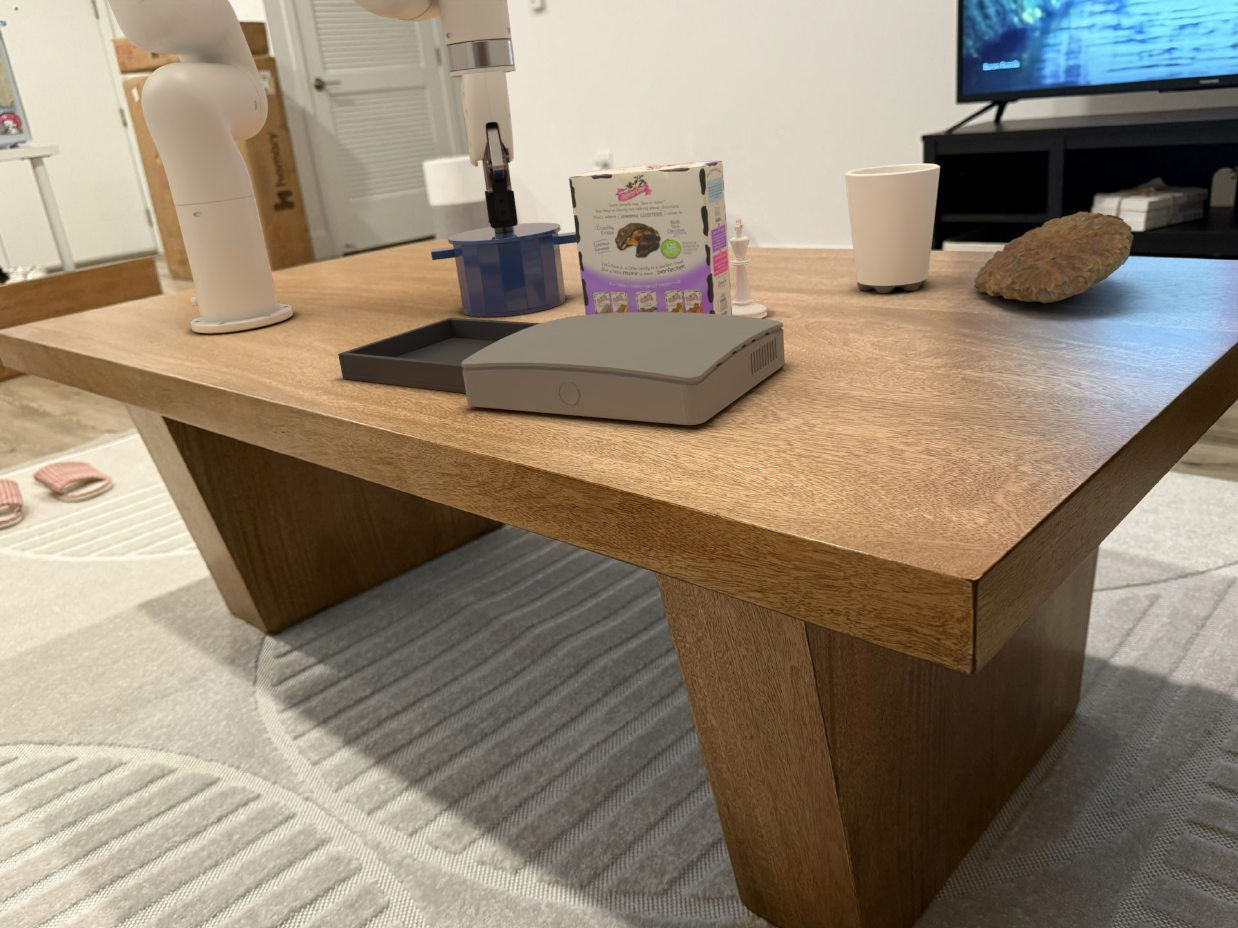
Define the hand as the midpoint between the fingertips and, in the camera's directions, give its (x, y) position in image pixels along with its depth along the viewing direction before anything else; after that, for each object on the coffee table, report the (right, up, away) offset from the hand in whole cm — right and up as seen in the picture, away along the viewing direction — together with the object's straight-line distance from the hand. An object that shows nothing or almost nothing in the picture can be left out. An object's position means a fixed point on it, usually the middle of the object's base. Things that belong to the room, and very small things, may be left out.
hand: (503, 223), depth 118 cm
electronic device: (+15, -22, -35) cm, 44 cm away
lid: (0, -1, +1) cm, 1 cm away
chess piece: (+27, -14, -15) cm, 34 cm away
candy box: (+18, -16, -20) cm, 31 cm away
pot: (+1, -9, +3) cm, 10 cm away
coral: (+56, -13, -20) cm, 61 cm away
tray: (-1, -19, -22) cm, 30 cm away
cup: (+44, -9, -8) cm, 46 cm away
